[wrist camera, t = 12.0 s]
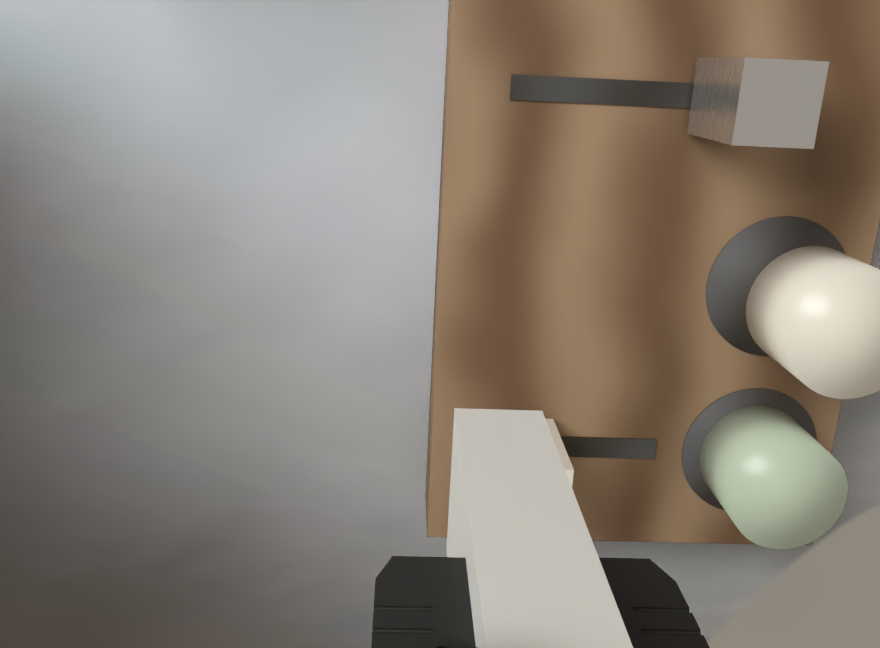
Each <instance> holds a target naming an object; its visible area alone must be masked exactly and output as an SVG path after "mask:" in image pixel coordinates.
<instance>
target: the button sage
mask: <svg viewBox="0 0 880 648" xmlns="http://www.w3.org/2000/svg"><path fill="white" fill-rule="evenodd" d="M699 466H700V471H701V474H702V477H703V479H704V481H705V483H706V484H707V485H708V487H709V488H710V490H711V491H712V493H713V494H714V495H715V497H716V498H717V500H718V501H719V503H720V504H721V505H722V507H723V508H724V510H725V511H726V512H727V514H728V515H729V517H730V518H731V520H732V521H733V522H734V524H735V525H736V527H737V528H738V529H739V531H740V532H741V533H742V534H743V535H744V536H745V537H746V538H747V539H749V540H750V541H751V542H753V543H755V544H757V545H760V546H763V547H766V548H771V549H791V548H796V547H800V546H803V545H806V544H808V543H810V542H812V541H814V540H816V539H818V538H819V537H821V536H822V535H823V534H825V533H826V532H827V531H828V530H829V529H830V528H831V527H832V526H833V525H834V524H835V523H836V521H837V520H838V519H839V517H840V515H841V514H842V512H843V509H844V507H845V504H846V501H847V496H848V482H847V477H846V474H845V471H844V469H843V467H842V466H841V464H840V463H839V462H838V460H837V459H836V458H835V457H834V456H833V455H831V454H830V453H829V452H828V451H827V450H826V449H825V448H824V447H823V446H822V445H821V444H820V443H819V442H818V441H816V440H815V439H814V438H813V437H812V436H811V435H810V434H809V433H808V432H807V431H806V430H805V429H804V428H803V427H801V426H800V425H799V424H798V423H797V422H796V421H795V420H794V419H793V418H792V417H791V416H789V415H788V414H787V413H785V412H783V411H781V410H779V409H776V408H773V407H768V406H750V407H745V408H741V409H738V410H736V411H733V412H731V413H730V414H728V415H726V416H725V417H723V418H722V419H720V420H719V421H718V422H717V423H716V424H715V425H714V426H713V427H712V428H711V429H710V431H709V432H708V434H707V435H706V437H705V439H704V441H703V443H702V446H701V450H700V455H699Z"/></svg>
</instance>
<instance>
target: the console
mask: <svg viewBox="0 0 880 648" xmlns="http://www.w3.org/2000/svg"><path fill="white" fill-rule="evenodd" d="M700 57H750V58H770V59H789V60H809V61H828V62H829V67H828V72H827V78H826V83H825V89H824V94H823V100H822V106H821V111H820V117H819V122H818V128H817V134H816V139H815V145H814V149H801V148H779V147H757V146H735V145H729V144H725V143H721V142H717V141H714V140H710V139H706V138H702V137H698V136H695V135H691V134H687V130H688V123H689V115H690V108H691V100H692V93H693V85H694V78H695V71H696V63H697V58H700ZM879 221H880V0H449V12H448V33H447V54H446V75H445V96H444V117H443V138H442V159H441V180H440V201H439V222H438V243H437V264H436V285H435V306H434V327H433V348H432V369H431V390H430V411H429V432H428V453H427V474H426V495H425V496H426V521H427V537H447V530H448V513H449V495H450V478H451V460H452V443H453V425H454V408H467V409H501V410H535V411H543V414H544V416H545V419H554V422H555V424H556V427H557V429H558V432H559V434H560V437H561V439H562V442H563V444H564V446H565V449H566V451H567V454H568V456H569V459H570V461H571V464H572V466H573V469H574V474H573V484H572V489H573V492H574V494H575V497H576V500H577V502H578V505H579V507H580V510H581V513H582V515H583V518H584V520H585V523H586V526H587V528H588V531H589V534H590V536H591V539H592V541H638V542H684V543H730V544H755V543H753V542H751V541H750V540H749V539H747V538H746V537H745V536H744V535H743V534H742V533H741V532H740V531H739V529H738V528H737V527H736V525H735V524H734V522H733V521H732V520H731V518H730V517H729V515H728V514H727V512H726V511H725V510H724V508H723V507H722V505H721V504H720V503H719V501H718V500H717V498H716V497H715V495H714V494H713V493H712V491H711V490H710V488H709V487H708V485H707V484H706V483H705V481H704V479H703V477H702V474H701V471H700V466H699V455H700V450H701V446H702V443H703V441H704V439H705V437H706V435H707V434H708V432H709V431H710V429H711V428H712V427H713V426H714V425H715V424H716V423H717V422H718V421H719V420H720V419H722V418H723V417H725V416H726V415H728V414H730V413H731V412H733V411H736V410H738V409H741V408H745V407H750V406H768V407H773V408H776V409H779V410H781V411H783V412H785V413H787V414H788V415H789V416H791V417H792V418H793V419H794V420H795V421H796V422H797V423H798V424H799V425H800V426H801V427H803V428H804V429H805V430H806V431H807V432H808V433H809V434H810V435H811V436H812V437H813V438H814V439H815V440H816V441H818V442H819V443H820V444H821V445H822V446H823V447H824V448H825V449H826V450H827V451H828V452H829V453H830V454H831V452H832V447H833V443H834V438H835V433H836V428H837V423H838V418H839V414H840V409H841V404H842V399H835V398H830V397H826V396H823V395H821V394H818V393H816V392H814V391H813V390H811V389H810V388H808V387H807V386H806V385H805V384H803V383H802V382H801V381H800V380H798V379H797V378H796V377H795V376H794V375H792V374H791V373H790V372H789V371H787V370H786V369H785V368H784V367H783V366H781V365H780V364H779V363H778V362H776V361H775V360H774V359H773V358H772V357H770V356H769V355H768V354H767V353H765V352H764V351H763V350H762V349H761V348H760V347H759V346H758V345H757V344H756V342H755V341H754V340H753V338H752V336H751V334H750V332H749V329H748V326H747V321H746V303H747V299H748V295H749V292H750V289H751V287H752V285H753V283H754V281H755V280H756V278H757V277H758V275H759V274H760V273H761V272H762V270H763V269H764V268H765V267H766V266H767V265H768V264H769V263H770V262H772V261H773V260H774V259H776V258H777V257H779V256H780V255H782V254H784V253H786V252H788V251H791V250H793V249H797V248H800V247H806V246H823V247H828V248H832V249H835V250H837V251H840V252H842V253H844V254H846V255H849V256H851V257H853V258H855V259H858V260H860V261H862V262H864V263H867V264H869V265H870V264H871V260H872V255H873V250H874V245H875V240H876V236H877V231H878V226H879ZM812 544H813V541H812V542H810V543H808V544H806V545H812Z"/></svg>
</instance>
